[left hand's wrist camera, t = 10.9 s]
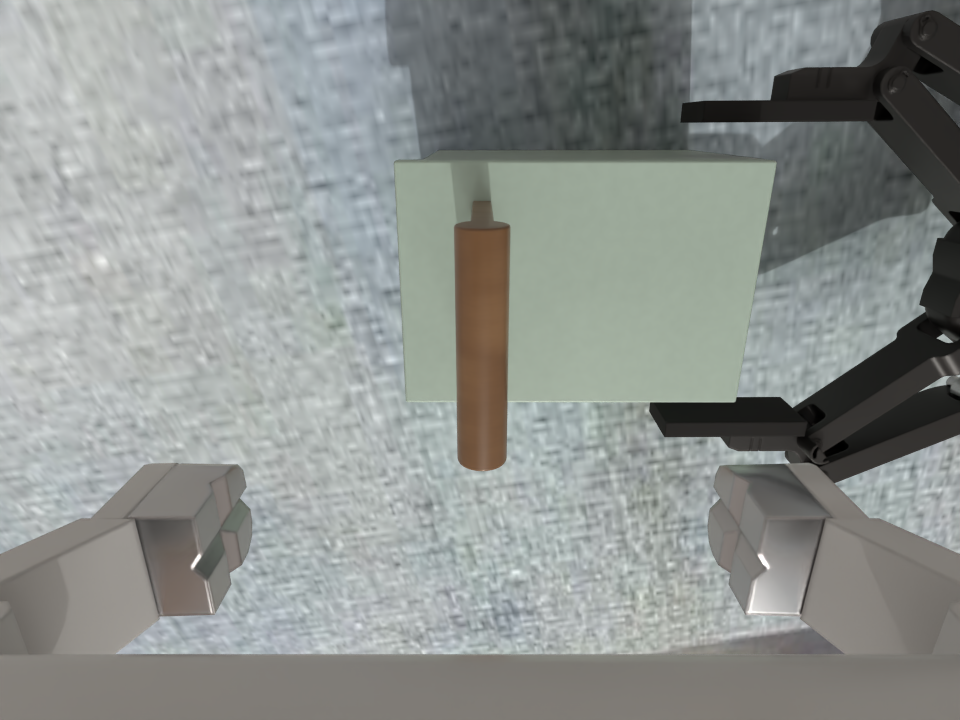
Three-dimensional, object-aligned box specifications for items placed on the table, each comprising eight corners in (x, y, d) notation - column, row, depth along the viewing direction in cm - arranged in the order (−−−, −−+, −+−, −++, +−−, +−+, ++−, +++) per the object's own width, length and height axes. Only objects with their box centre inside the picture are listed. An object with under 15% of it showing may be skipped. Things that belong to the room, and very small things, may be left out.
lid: (408, 394, 26) (377, 507, 18) (396, 159, 22) (352, 177, 15) (728, 394, 26) (832, 508, 18) (768, 159, 22) (917, 177, 15)
